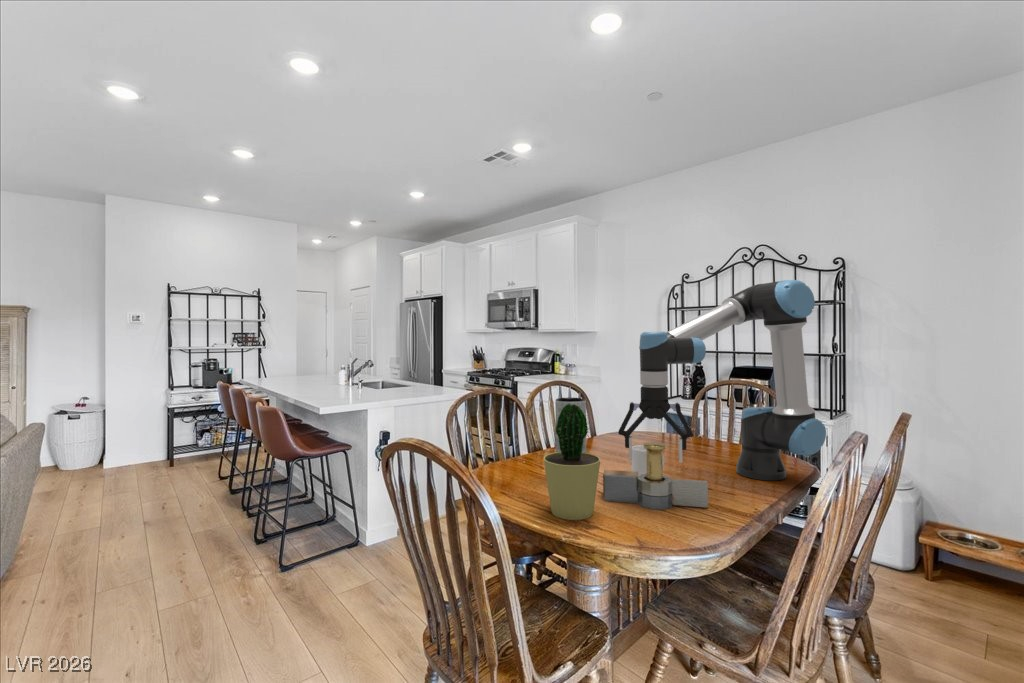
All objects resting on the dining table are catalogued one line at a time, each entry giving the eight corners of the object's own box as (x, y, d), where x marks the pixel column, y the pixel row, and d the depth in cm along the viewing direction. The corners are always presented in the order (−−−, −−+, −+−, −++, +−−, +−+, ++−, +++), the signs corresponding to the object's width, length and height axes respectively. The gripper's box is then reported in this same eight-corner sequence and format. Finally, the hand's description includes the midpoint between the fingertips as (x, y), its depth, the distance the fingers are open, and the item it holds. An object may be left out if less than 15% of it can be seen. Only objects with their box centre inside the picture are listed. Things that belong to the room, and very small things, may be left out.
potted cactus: (531, 512, 130) (531, 402, 130) (567, 498, 141) (566, 397, 140) (577, 528, 119) (576, 408, 119) (612, 511, 130) (611, 401, 129)
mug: (656, 473, 166) (656, 443, 166) (671, 479, 158) (671, 448, 158) (626, 476, 162) (626, 446, 162) (640, 483, 154) (640, 451, 154)
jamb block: (638, 495, 143) (638, 471, 142) (638, 501, 138) (638, 476, 138) (604, 493, 145) (604, 469, 145) (603, 498, 140) (603, 474, 140)
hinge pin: (665, 500, 138) (664, 442, 138) (666, 508, 132) (666, 447, 132) (643, 499, 139) (643, 441, 139) (643, 506, 134) (643, 445, 133)
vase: (563, 475, 165) (563, 396, 164) (591, 479, 160) (590, 398, 159) (550, 482, 156) (550, 400, 156) (579, 487, 151) (578, 402, 151)
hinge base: (671, 499, 139) (670, 474, 139) (673, 510, 130) (673, 484, 130) (605, 494, 144) (605, 470, 144) (603, 505, 135) (603, 479, 135)
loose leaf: (637, 506, 132) (637, 482, 132) (637, 495, 142) (637, 472, 141) (709, 512, 128) (709, 487, 128) (705, 500, 137) (705, 477, 137)
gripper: (699, 384, 136) (700, 458, 136) (610, 384, 142) (611, 455, 143) (702, 387, 129) (704, 466, 129) (608, 387, 135) (610, 461, 135)
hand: (655, 460), depth 136 cm, fingers open, 13 cm apart
